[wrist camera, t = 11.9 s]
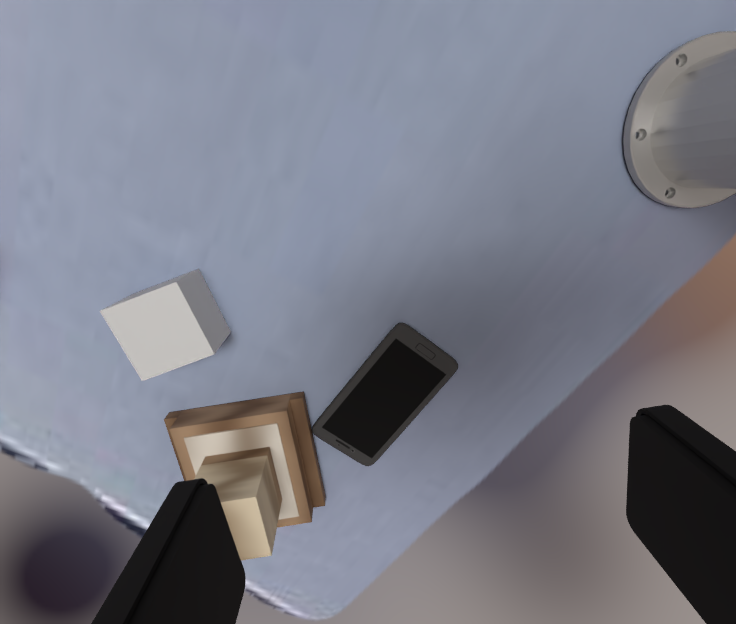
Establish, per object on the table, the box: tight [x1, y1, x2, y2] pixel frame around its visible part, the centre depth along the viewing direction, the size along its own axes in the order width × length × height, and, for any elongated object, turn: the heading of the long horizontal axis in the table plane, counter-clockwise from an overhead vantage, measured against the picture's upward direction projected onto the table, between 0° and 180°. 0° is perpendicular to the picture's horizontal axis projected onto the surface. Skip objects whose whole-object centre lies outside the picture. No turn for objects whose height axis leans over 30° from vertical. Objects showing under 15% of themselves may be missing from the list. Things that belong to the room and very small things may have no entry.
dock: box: [164, 392, 326, 527], centre depth 38 cm, size 12×12×3 cm
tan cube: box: [194, 447, 282, 560], centre depth 33 cm, size 6×6×6 cm
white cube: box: [100, 269, 231, 381], centre depth 33 cm, size 6×6×5 cm
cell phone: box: [312, 323, 458, 466], centre depth 38 cm, size 7×14×1 cm, turn 142°
